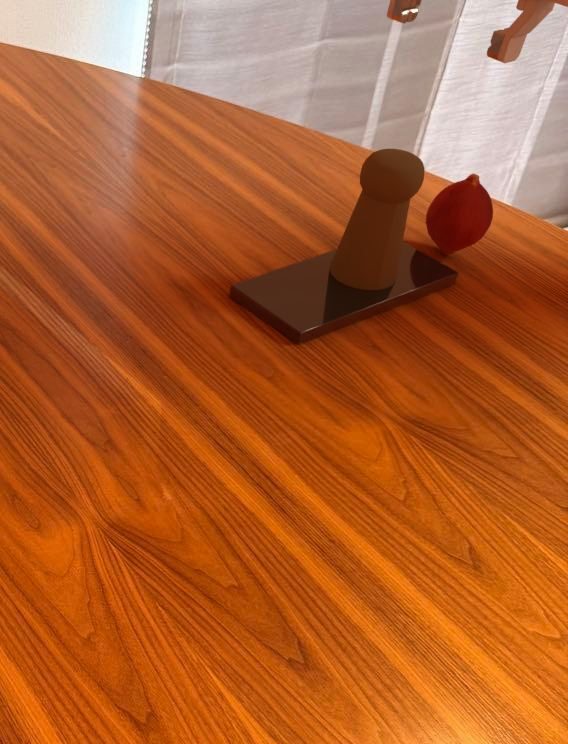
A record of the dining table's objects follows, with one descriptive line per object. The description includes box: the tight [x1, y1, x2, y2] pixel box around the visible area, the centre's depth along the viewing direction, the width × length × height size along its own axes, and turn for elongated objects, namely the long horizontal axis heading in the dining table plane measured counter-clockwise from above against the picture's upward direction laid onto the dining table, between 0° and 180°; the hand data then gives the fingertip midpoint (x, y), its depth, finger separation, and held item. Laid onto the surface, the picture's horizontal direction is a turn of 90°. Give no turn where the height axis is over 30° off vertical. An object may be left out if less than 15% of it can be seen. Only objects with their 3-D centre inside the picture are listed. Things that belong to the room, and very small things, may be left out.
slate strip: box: [228, 241, 460, 345], centre depth 89 cm, size 20×9×1 cm, turn 122°
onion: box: [425, 173, 494, 255], centre depth 92 cm, size 6×6×8 cm
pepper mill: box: [329, 148, 426, 290], centre depth 85 cm, size 6×6×11 cm
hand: (448, 38), depth 72 cm, fingers open, 8 cm apart
